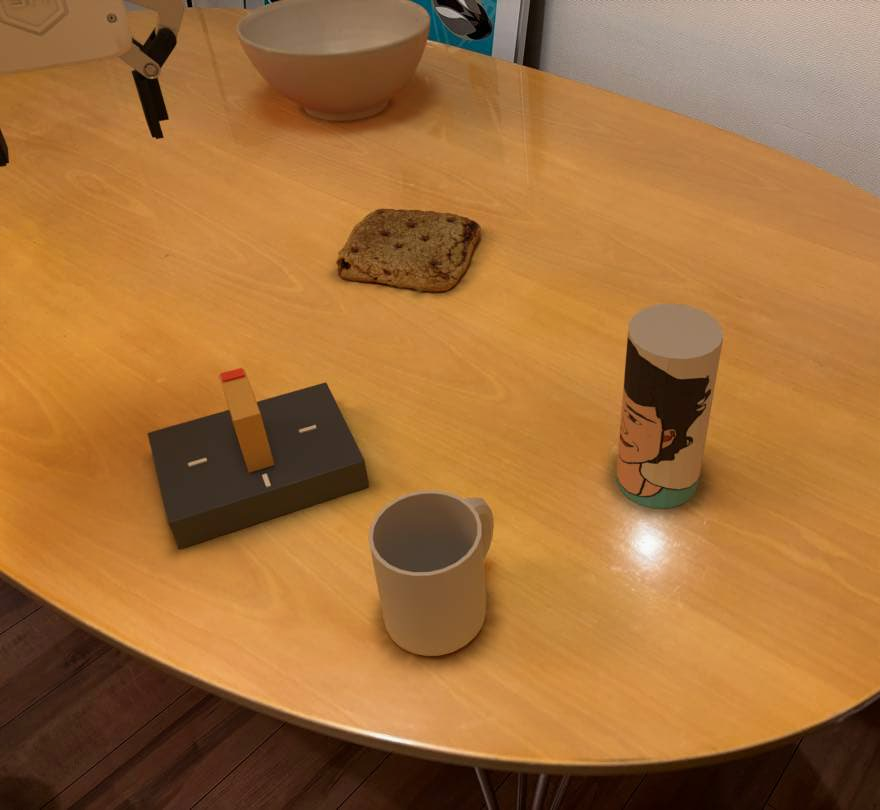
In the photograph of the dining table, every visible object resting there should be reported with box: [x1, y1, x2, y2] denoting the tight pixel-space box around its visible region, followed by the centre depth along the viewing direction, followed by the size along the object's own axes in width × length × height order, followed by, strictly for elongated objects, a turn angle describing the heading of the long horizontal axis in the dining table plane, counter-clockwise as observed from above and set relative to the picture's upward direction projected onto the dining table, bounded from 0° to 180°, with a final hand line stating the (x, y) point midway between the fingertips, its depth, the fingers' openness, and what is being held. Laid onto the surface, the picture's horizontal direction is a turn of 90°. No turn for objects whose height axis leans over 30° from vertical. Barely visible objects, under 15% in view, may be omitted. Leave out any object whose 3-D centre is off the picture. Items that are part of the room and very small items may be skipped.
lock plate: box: [147, 381, 370, 550], centre depth 72 cm, size 15×11×3 cm
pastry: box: [335, 208, 482, 294], centre depth 98 cm, size 17×17×3 cm
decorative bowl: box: [235, 0, 431, 122], centre depth 128 cm, size 27×27×12 cm
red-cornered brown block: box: [218, 367, 274, 473], centre depth 69 cm, size 6×2×6 cm, turn 26°
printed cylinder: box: [615, 302, 724, 510], centre depth 68 cm, size 7×7×15 cm
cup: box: [368, 490, 495, 657], centre depth 60 cm, size 7×10×9 cm
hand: (81, 144), depth 60 cm, fingers open, 9 cm apart
